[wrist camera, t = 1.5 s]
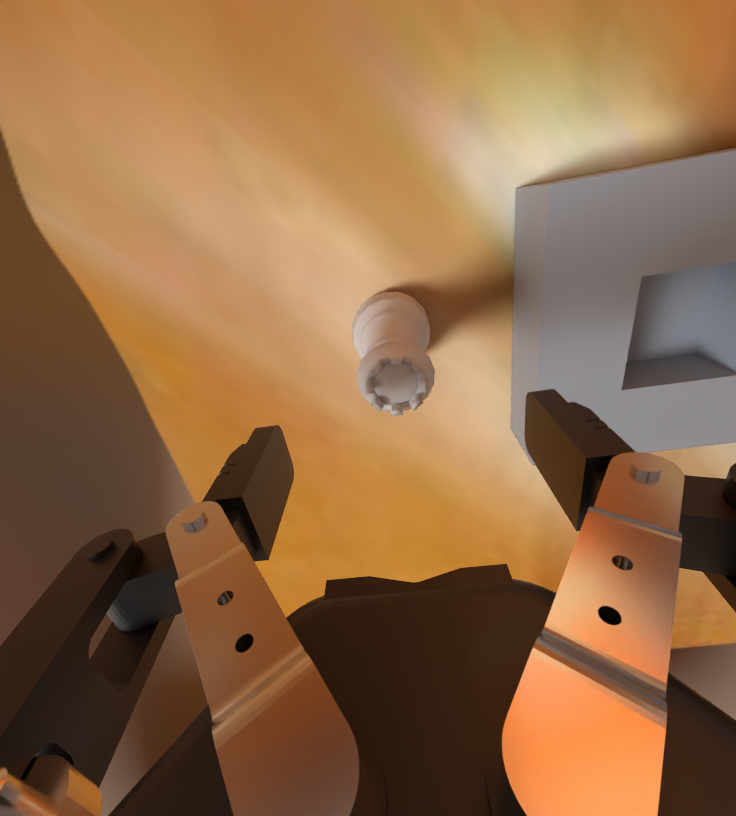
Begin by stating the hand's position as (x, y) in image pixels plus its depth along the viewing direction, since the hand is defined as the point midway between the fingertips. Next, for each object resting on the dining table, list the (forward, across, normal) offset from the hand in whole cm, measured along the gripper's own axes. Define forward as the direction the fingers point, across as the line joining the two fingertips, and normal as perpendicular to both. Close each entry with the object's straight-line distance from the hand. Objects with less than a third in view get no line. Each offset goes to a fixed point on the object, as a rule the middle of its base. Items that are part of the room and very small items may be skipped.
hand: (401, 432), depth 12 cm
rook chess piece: (+11, 0, 0) cm, 11 cm away
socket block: (+11, -14, +1) cm, 18 cm away
